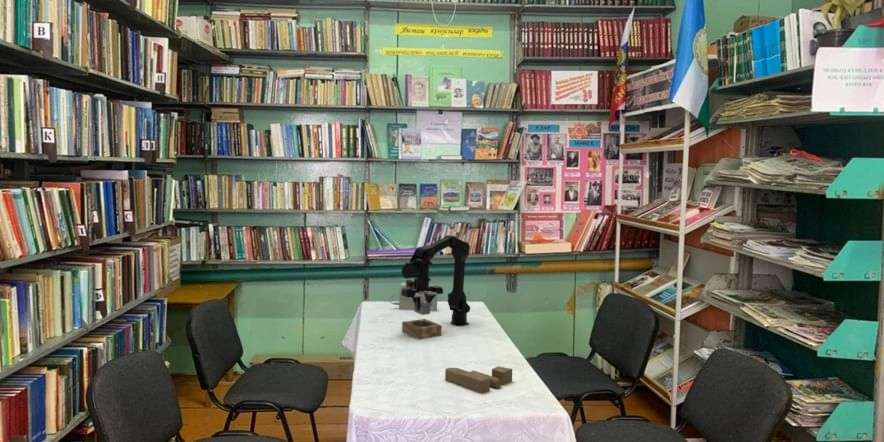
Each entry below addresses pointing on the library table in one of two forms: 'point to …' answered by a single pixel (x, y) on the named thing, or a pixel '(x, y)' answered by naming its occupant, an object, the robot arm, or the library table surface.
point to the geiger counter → (408, 303)
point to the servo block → (423, 308)
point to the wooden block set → (479, 378)
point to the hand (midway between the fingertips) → (422, 310)
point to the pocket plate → (421, 328)
